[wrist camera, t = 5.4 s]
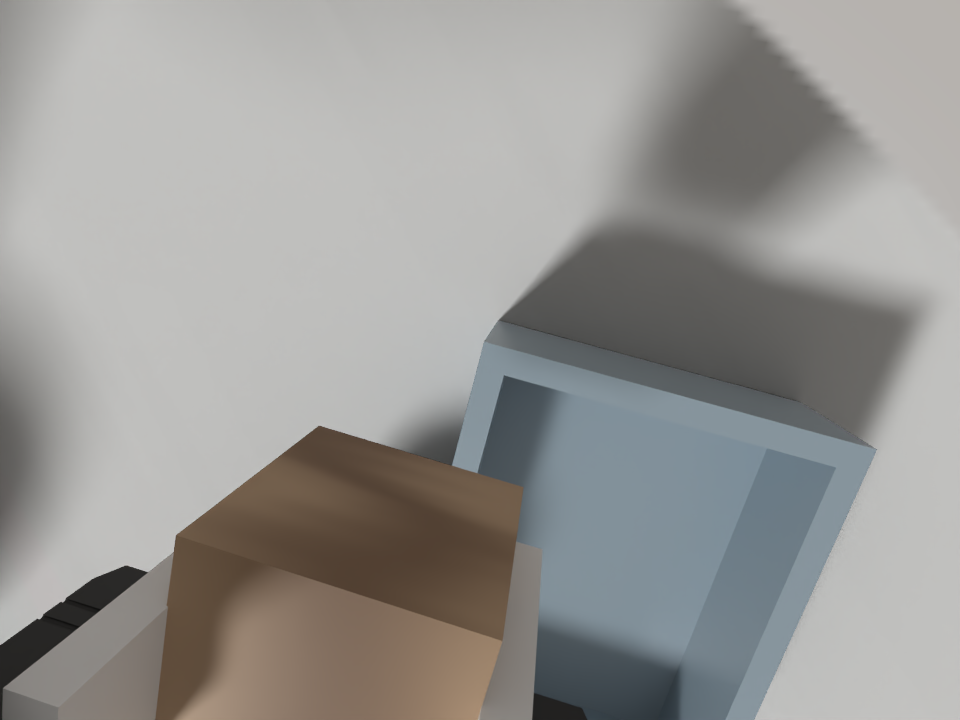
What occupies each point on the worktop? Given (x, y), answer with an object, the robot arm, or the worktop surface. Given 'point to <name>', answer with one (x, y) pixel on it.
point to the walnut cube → (341, 590)
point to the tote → (658, 521)
